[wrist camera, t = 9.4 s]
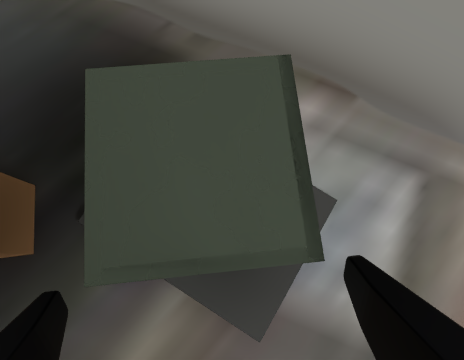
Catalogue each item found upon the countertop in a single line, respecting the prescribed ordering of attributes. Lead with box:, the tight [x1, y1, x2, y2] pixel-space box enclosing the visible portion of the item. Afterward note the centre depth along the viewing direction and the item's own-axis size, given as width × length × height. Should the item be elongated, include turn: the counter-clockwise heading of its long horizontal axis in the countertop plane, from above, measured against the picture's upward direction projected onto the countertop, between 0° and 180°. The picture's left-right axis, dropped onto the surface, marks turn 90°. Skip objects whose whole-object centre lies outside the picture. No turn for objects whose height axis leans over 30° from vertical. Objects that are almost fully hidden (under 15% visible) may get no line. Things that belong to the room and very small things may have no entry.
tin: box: [84, 55, 325, 287], centre depth 13 cm, size 6×6×10 cm
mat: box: [78, 185, 337, 342], centre depth 19 cm, size 12×9×1 cm
